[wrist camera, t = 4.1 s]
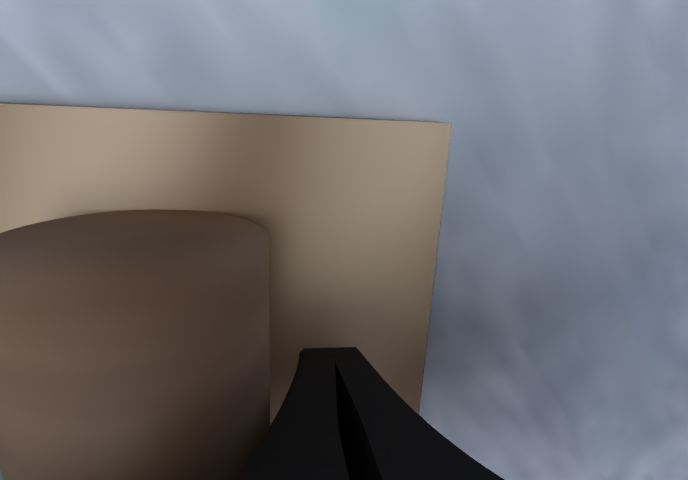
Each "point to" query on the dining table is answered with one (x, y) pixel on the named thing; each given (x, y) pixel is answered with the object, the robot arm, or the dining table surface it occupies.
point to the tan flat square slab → (263, 210)
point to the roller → (133, 346)
